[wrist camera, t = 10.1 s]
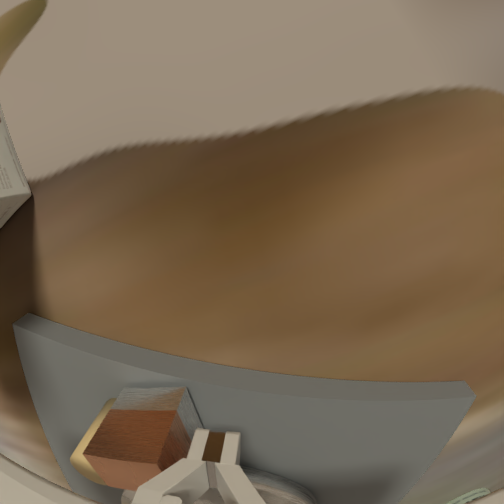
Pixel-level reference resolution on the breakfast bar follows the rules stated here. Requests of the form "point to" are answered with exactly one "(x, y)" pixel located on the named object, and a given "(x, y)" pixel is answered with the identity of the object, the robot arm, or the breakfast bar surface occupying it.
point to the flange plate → (191, 419)
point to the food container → (470, 496)
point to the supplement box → (10, 176)
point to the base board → (245, 414)
